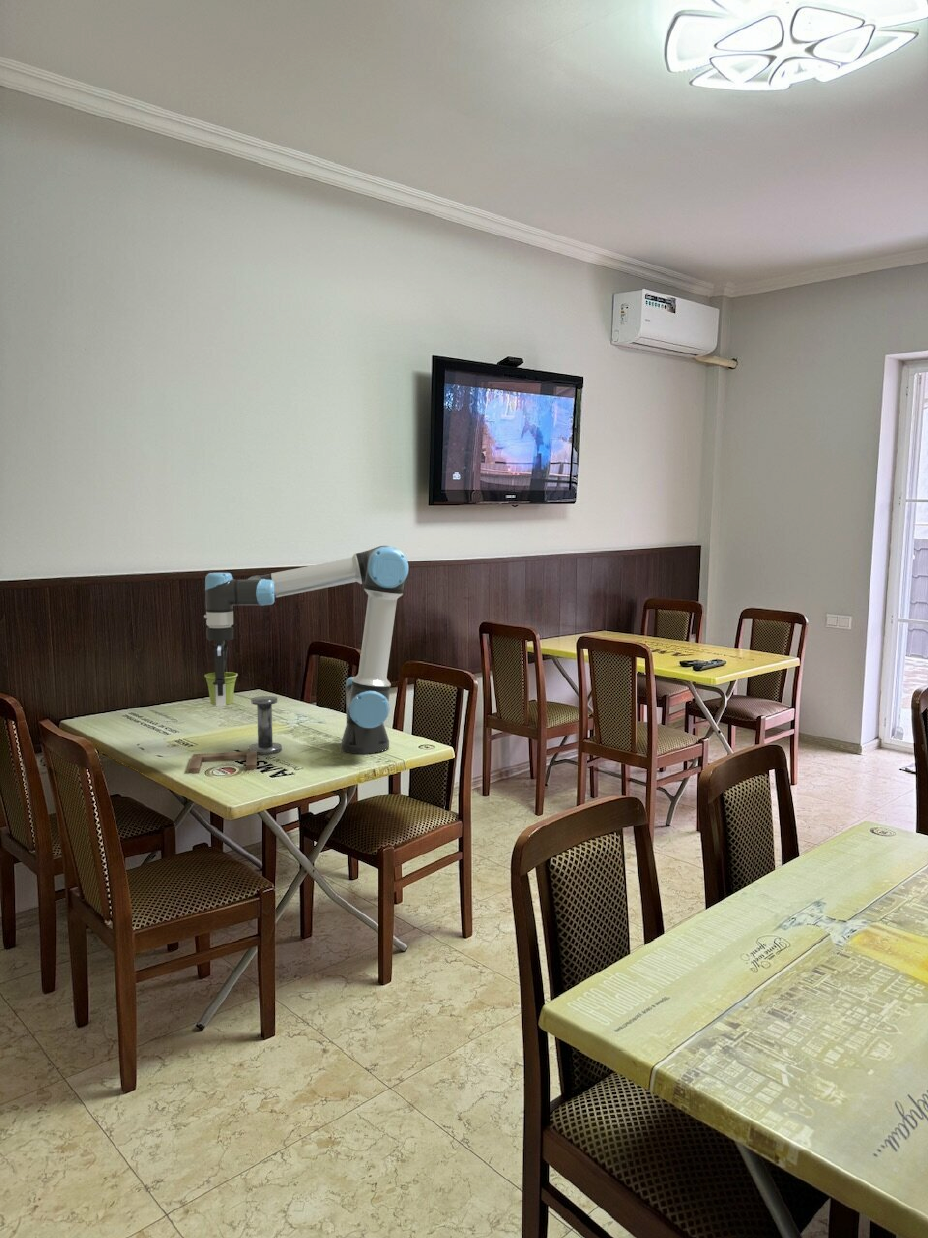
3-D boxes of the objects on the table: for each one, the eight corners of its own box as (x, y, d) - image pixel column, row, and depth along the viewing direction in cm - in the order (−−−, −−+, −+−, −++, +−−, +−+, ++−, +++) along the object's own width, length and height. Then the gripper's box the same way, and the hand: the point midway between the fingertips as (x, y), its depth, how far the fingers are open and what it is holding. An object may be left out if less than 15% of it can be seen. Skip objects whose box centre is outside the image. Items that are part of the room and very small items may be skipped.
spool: (281, 746, 285) (280, 694, 283) (282, 754, 275) (280, 701, 273) (249, 747, 282) (248, 696, 281) (248, 756, 273) (247, 702, 271)
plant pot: (243, 701, 264) (242, 672, 263) (231, 707, 254) (230, 677, 253) (212, 700, 265) (211, 671, 264) (200, 707, 255) (199, 677, 254)
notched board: (257, 755, 273) (257, 750, 273) (256, 769, 258) (256, 764, 258) (192, 759, 269) (192, 754, 269) (188, 773, 254) (188, 768, 254)
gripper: (208, 622, 266) (210, 696, 269) (203, 631, 246) (205, 711, 248) (234, 621, 268) (236, 695, 271) (231, 630, 247) (233, 710, 250)
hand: (221, 703), depth 259 cm, fingers closed on plant pot, 8 cm apart
